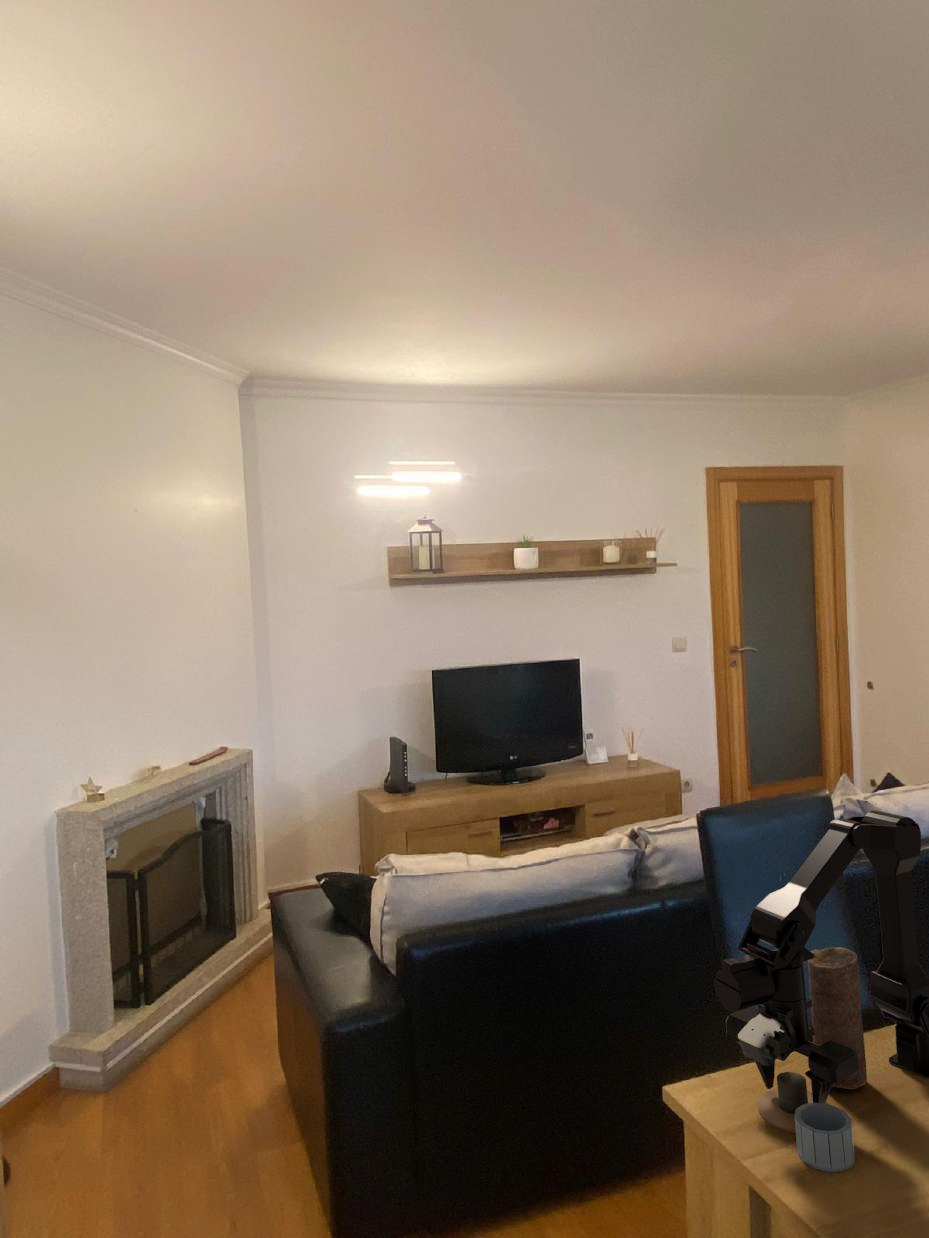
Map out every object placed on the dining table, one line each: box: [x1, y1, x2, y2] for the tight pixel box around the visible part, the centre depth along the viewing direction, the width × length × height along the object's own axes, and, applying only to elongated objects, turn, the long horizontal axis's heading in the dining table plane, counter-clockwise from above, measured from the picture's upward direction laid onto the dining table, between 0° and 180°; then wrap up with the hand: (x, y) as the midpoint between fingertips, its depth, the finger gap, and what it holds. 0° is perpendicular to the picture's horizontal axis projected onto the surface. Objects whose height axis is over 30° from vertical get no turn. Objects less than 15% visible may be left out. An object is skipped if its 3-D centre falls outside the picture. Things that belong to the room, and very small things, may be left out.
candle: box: [807, 947, 868, 1090], centre depth 129 cm, size 8×7×20 cm
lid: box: [757, 1071, 829, 1134], centre depth 123 cm, size 10×10×5 cm
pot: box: [794, 1102, 856, 1173], centre depth 113 cm, size 7×7×5 cm
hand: (793, 1099), depth 123 cm, fingers open, 8 cm apart
